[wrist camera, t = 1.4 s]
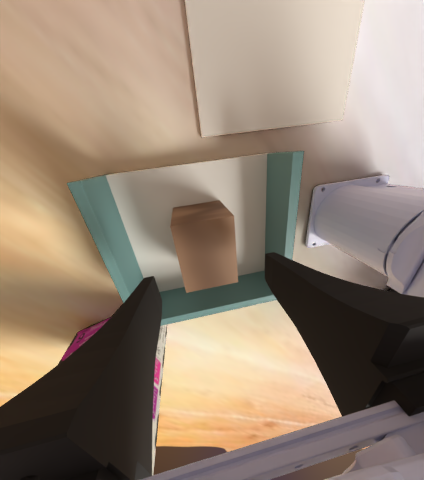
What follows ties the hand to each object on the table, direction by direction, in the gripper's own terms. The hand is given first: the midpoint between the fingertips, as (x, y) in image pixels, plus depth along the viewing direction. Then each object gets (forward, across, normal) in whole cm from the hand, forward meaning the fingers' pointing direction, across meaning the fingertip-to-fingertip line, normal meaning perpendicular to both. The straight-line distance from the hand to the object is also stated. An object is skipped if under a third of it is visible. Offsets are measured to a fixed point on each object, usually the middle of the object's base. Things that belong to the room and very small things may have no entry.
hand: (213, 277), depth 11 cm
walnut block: (+7, 0, 0) cm, 7 cm away
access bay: (+9, 0, 0) cm, 9 cm away
